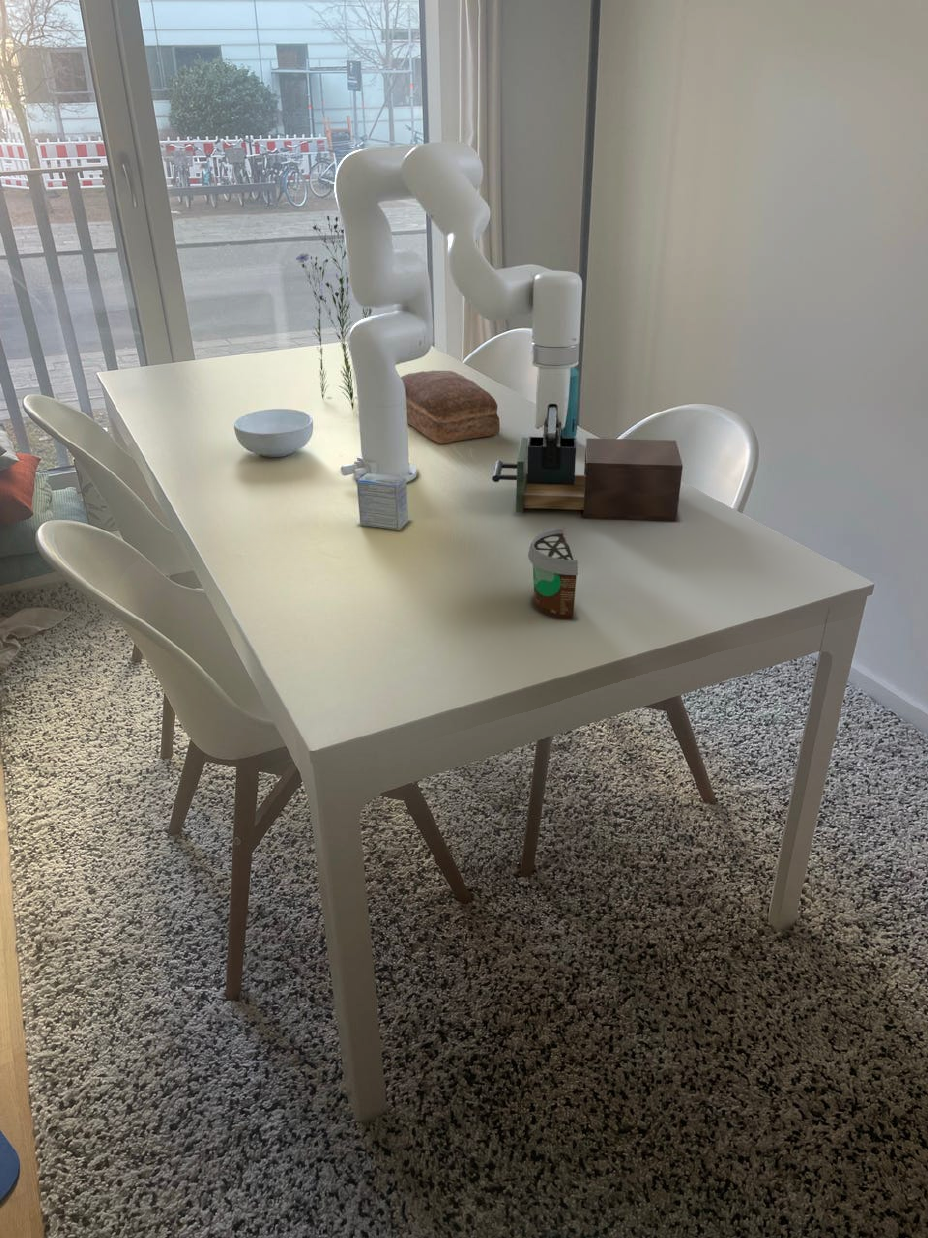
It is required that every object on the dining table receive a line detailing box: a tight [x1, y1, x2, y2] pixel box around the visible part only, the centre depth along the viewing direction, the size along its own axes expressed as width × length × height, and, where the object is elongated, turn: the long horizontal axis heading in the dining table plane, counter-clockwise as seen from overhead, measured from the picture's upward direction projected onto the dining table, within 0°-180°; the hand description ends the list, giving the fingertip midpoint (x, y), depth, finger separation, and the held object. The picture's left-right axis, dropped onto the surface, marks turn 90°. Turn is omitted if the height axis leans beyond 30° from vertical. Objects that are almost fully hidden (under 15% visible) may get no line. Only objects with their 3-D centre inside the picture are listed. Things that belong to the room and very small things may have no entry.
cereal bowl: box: [233, 408, 314, 458], centre depth 197 cm, size 17×17×7 cm
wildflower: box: [295, 215, 373, 411], centre depth 219 cm, size 22×23×45 cm
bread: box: [400, 370, 501, 444], centre depth 212 cm, size 17×29×11 cm, turn 26°
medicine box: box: [356, 473, 409, 531], centre depth 162 cm, size 8×4×9 cm, turn 71°
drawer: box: [491, 437, 586, 513], centre depth 169 cm, size 22×13×10 cm, turn 84°
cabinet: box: [582, 437, 684, 522], centre depth 168 cm, size 17×14×11 cm
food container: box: [527, 527, 579, 620], centre depth 135 cm, size 12×6×10 cm, turn 5°
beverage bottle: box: [561, 367, 580, 438], centre depth 197 cm, size 6×7×20 cm
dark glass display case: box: [527, 436, 577, 485], centre depth 153 cm, size 8×5×6 cm, turn 84°
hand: (551, 461), depth 153 cm, fingers closed on dark glass display case, 5 cm apart
